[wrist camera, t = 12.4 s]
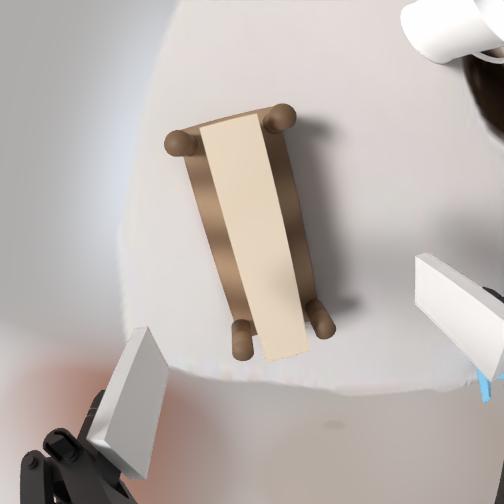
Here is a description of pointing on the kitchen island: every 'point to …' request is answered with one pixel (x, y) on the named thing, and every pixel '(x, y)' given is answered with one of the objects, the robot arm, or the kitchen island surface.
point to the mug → (454, 28)
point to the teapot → (486, 385)
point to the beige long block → (257, 233)
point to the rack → (217, 234)
